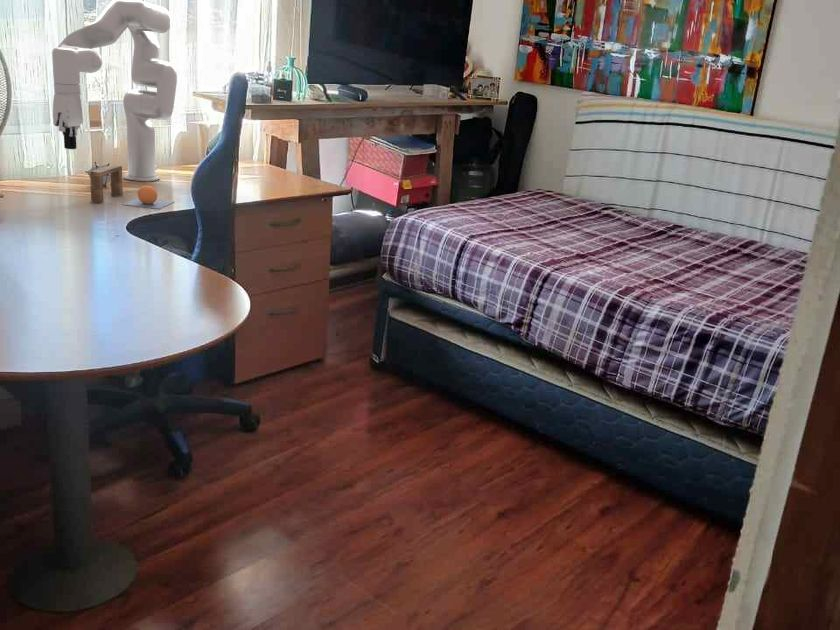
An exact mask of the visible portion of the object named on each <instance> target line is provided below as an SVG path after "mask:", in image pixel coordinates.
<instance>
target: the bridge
mask: <svg viewBox="0 0 840 630" xmlns="http://www.w3.org/2000/svg"><path fill="white" fill-rule="evenodd" d="M109 173H111V180H110V196H116V197H121V196H123V192H124V191H123V166H122V165H118V164H117V165H116V164H112V165H109V166H108V167H104V168H101V169H97V170H94V171H90V177H89V179H90V201H91V203H94V202H96V204H102V202H103V203H104V185H103V175H106V174H109Z"/></svg>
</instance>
